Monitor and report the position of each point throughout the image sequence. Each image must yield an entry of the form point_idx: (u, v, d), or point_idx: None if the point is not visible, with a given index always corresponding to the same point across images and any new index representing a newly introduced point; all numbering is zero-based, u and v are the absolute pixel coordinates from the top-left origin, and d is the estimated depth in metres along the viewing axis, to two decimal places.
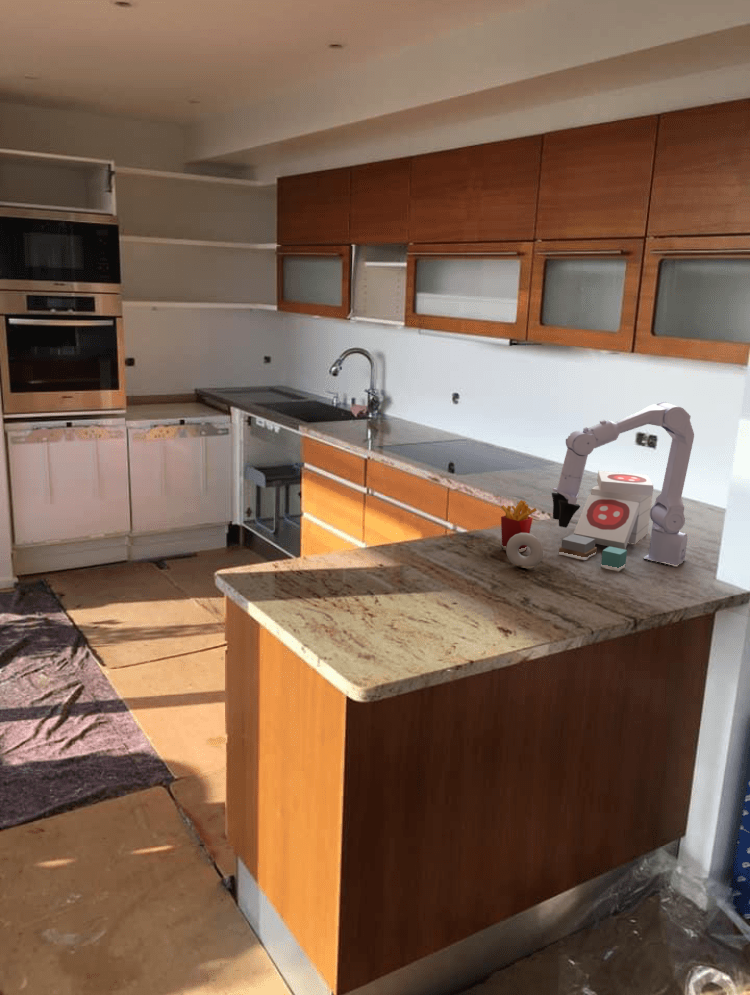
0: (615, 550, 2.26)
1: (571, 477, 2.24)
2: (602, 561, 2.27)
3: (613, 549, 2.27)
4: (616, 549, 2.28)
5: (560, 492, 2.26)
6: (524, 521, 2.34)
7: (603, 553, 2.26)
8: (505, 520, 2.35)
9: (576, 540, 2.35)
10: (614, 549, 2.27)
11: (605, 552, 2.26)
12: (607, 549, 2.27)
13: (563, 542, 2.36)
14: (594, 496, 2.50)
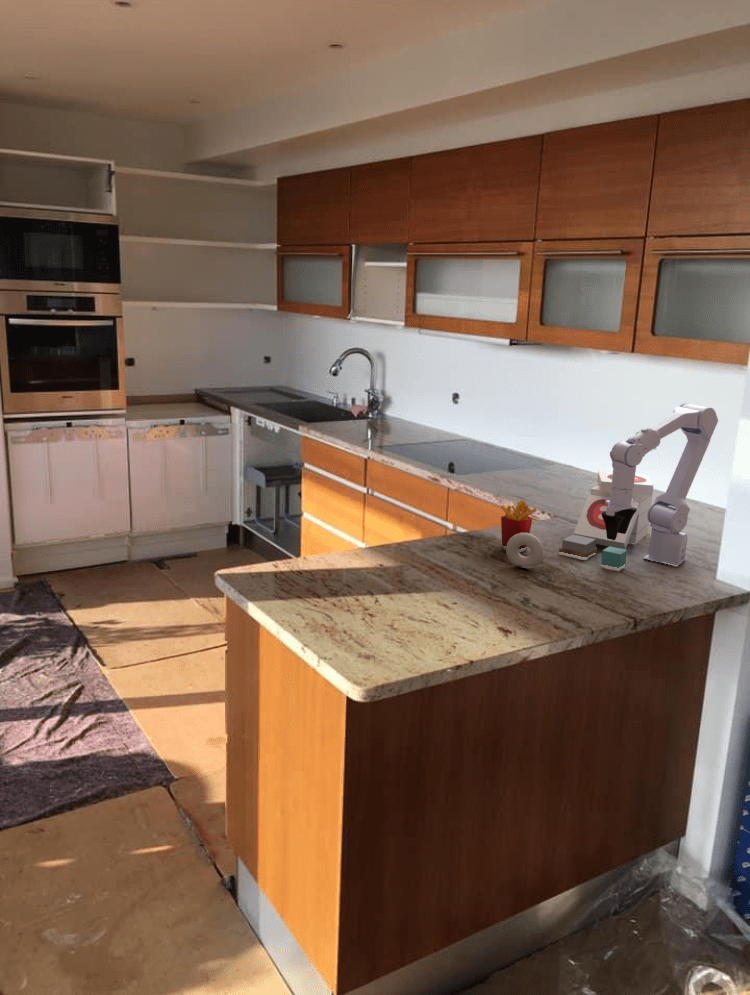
0: (615, 550, 2.26)
1: (616, 488, 2.20)
2: (602, 561, 2.27)
3: (613, 549, 2.27)
4: (616, 549, 2.28)
5: (608, 504, 2.23)
6: (524, 521, 2.34)
7: (603, 553, 2.26)
8: (505, 520, 2.35)
9: (577, 540, 2.35)
10: (614, 549, 2.27)
11: (605, 552, 2.26)
12: (607, 549, 2.27)
13: (564, 543, 2.36)
14: (594, 496, 2.50)
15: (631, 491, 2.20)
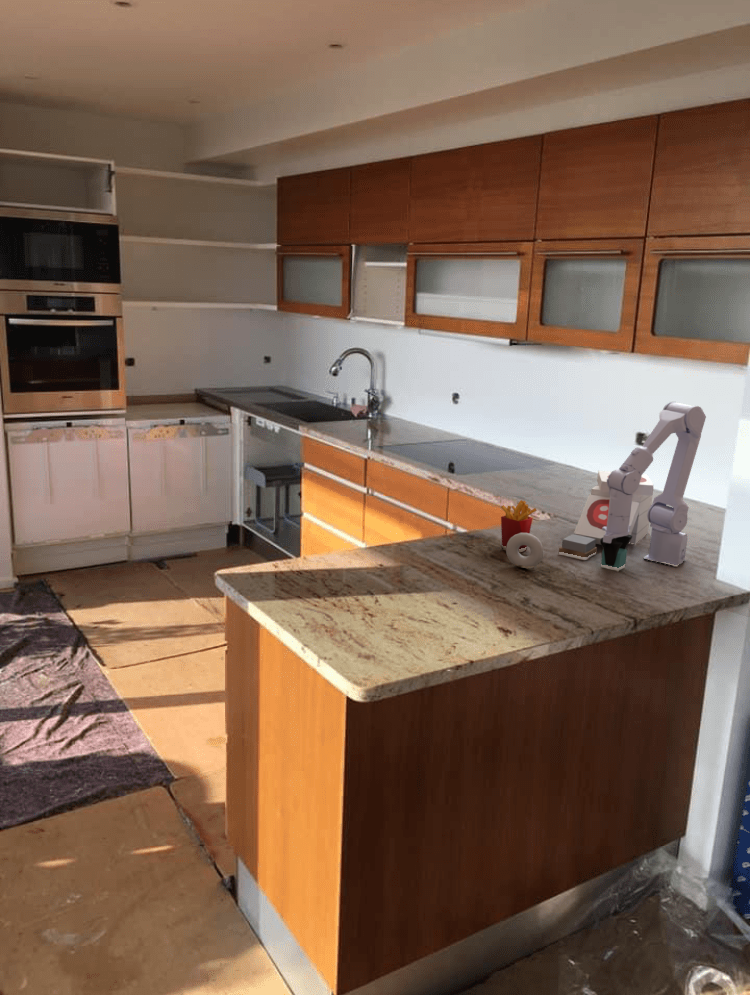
0: None
1: (612, 516, 2.22)
2: (602, 561, 2.27)
3: None
4: None
5: (605, 531, 2.25)
6: (524, 521, 2.34)
7: (603, 553, 2.26)
8: (505, 520, 2.35)
9: (577, 540, 2.35)
10: None
11: None
12: None
13: (564, 542, 2.36)
14: (594, 496, 2.50)
15: (628, 518, 2.22)
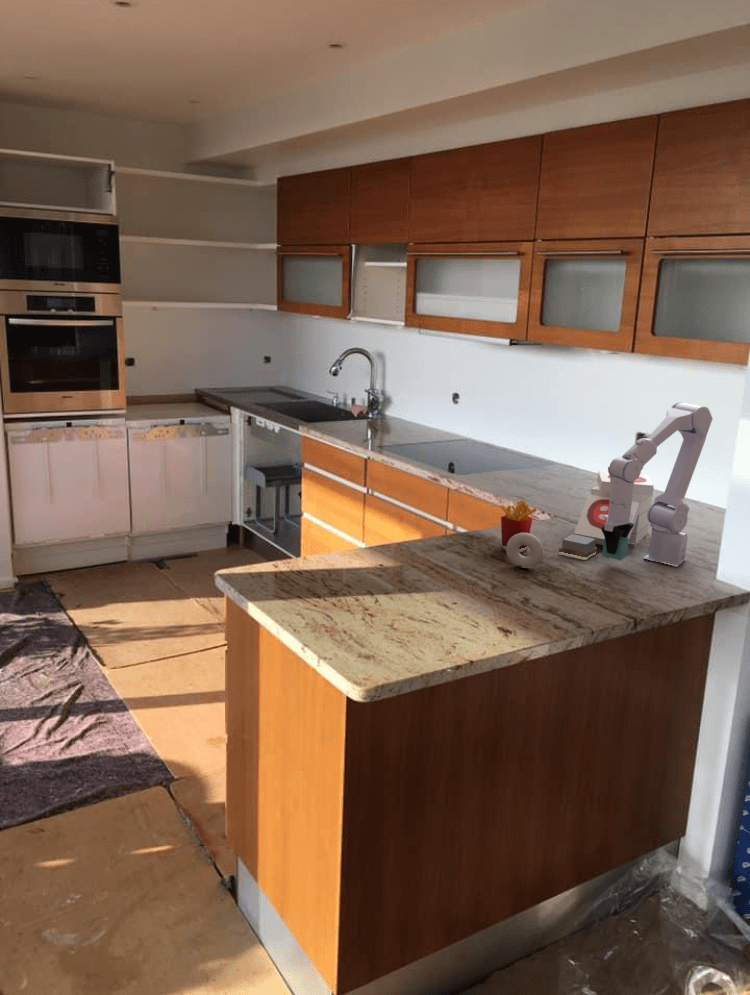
0: None
1: (614, 504, 2.21)
2: (603, 549, 2.26)
3: None
4: None
5: None
6: (524, 521, 2.34)
7: (604, 541, 2.25)
8: (505, 520, 2.35)
9: (577, 540, 2.35)
10: None
11: None
12: None
13: (564, 542, 2.36)
14: (594, 496, 2.50)
15: (629, 506, 2.21)
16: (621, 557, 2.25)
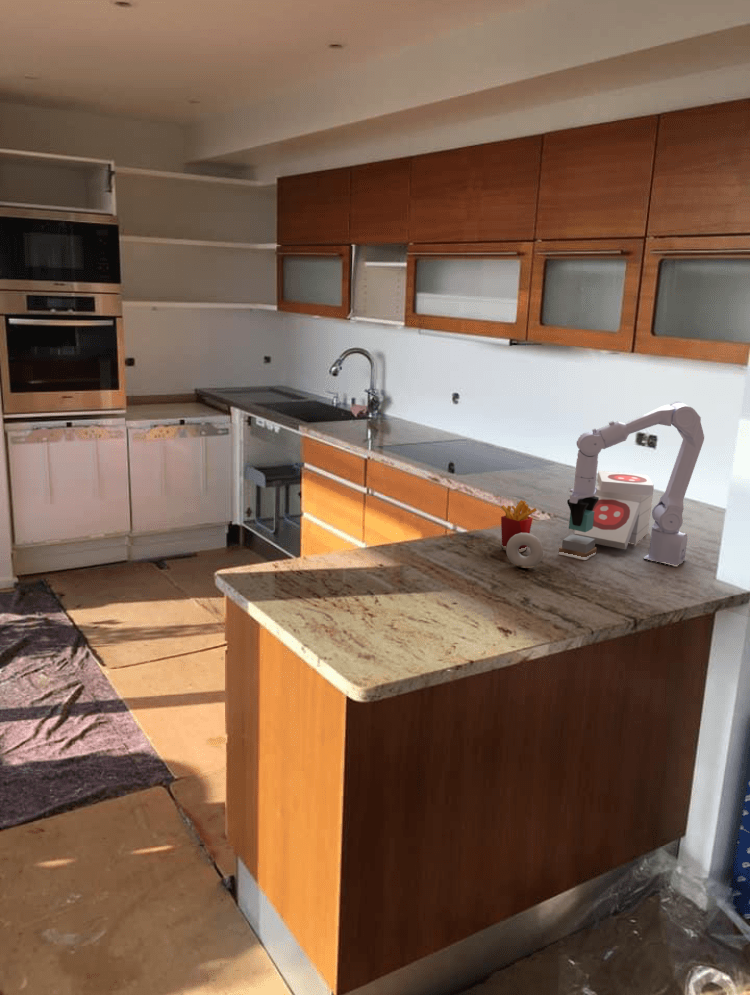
0: None
1: (579, 477, 2.30)
2: (570, 522, 2.35)
3: None
4: None
5: (572, 492, 2.33)
6: (524, 521, 2.34)
7: None
8: (505, 520, 2.35)
9: (577, 540, 2.35)
10: None
11: None
12: None
13: (564, 542, 2.36)
14: None
15: (594, 480, 2.30)
16: (587, 530, 2.33)
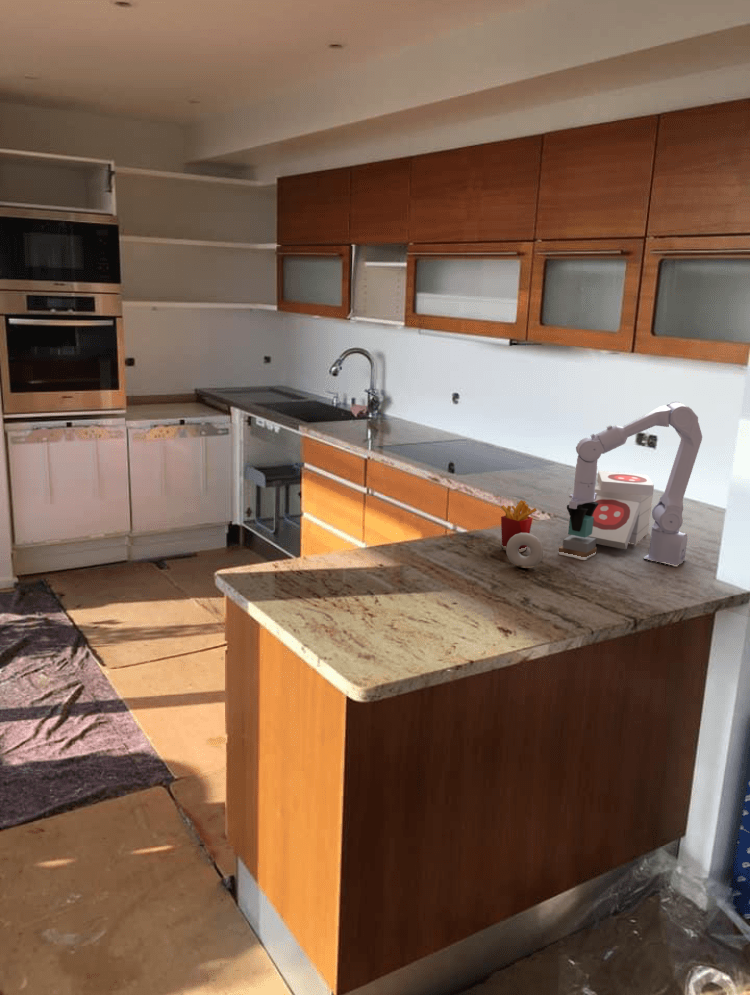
0: None
1: (578, 483, 2.31)
2: (569, 527, 2.35)
3: None
4: None
5: None
6: (524, 521, 2.34)
7: (570, 519, 2.34)
8: (505, 520, 2.35)
9: (577, 540, 2.35)
10: None
11: None
12: None
13: (565, 542, 2.36)
14: None
15: (593, 485, 2.31)
16: (586, 535, 2.34)
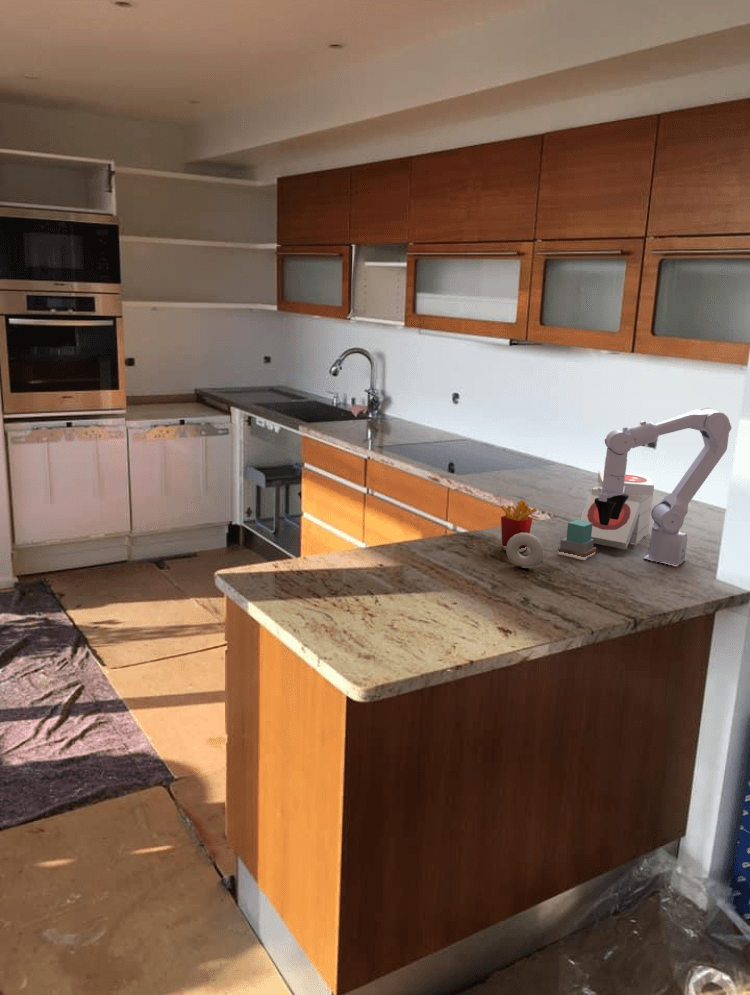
0: (580, 523, 2.35)
1: (608, 475, 2.28)
2: (568, 533, 2.35)
3: (579, 522, 2.36)
4: (581, 522, 2.36)
5: (601, 490, 2.31)
6: (524, 521, 2.34)
7: (568, 525, 2.35)
8: (505, 520, 2.35)
9: None
10: (580, 522, 2.35)
11: (570, 524, 2.34)
12: (573, 521, 2.36)
13: (562, 543, 2.36)
14: (595, 496, 2.50)
15: (623, 478, 2.28)
16: (584, 541, 2.34)
